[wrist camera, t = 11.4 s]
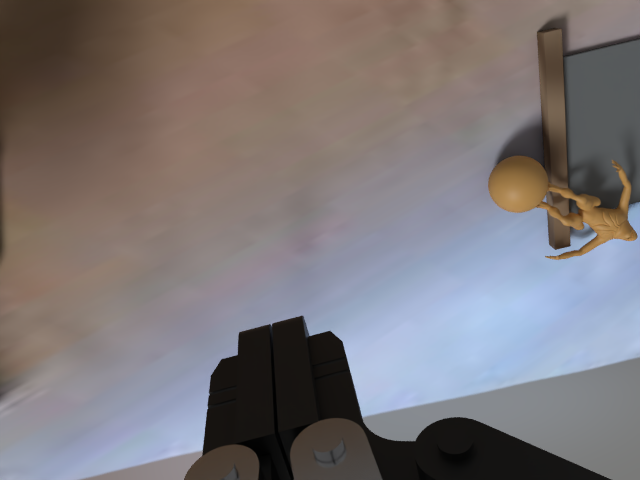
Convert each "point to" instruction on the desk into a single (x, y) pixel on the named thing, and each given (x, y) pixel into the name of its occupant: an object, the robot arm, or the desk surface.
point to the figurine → (532, 185)
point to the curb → (554, 129)
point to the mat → (603, 122)
